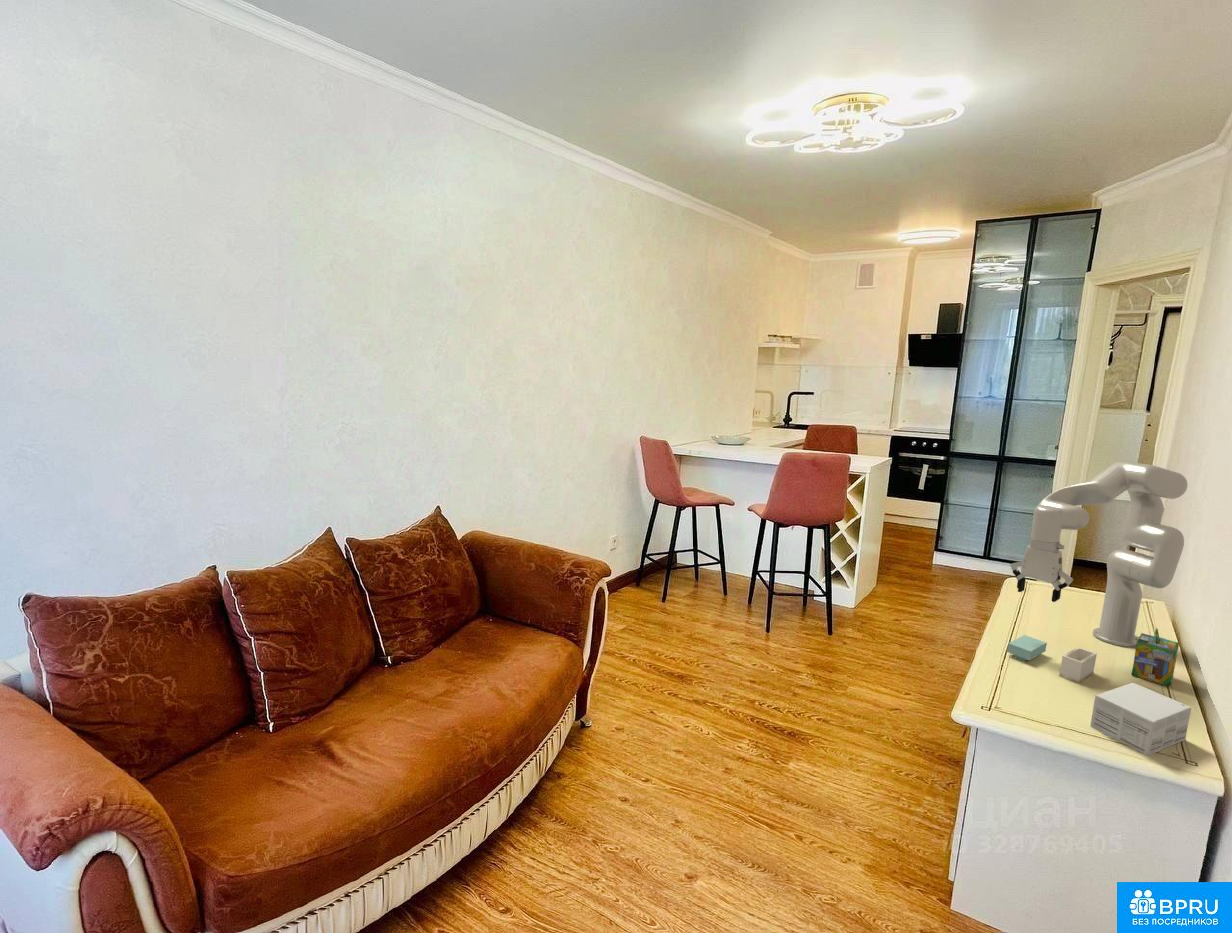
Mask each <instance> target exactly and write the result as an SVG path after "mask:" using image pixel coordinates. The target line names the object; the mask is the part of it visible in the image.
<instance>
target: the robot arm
mask: <svg viewBox="0 0 1232 933" xmlns="http://www.w3.org/2000/svg"><path fill="white" fill-rule="evenodd" d="M1187 489H1188V480H1187V478H1186V477H1185V476H1184V475H1183V474H1181V473H1180V472H1176V471H1174V470H1170V469H1166V468H1163V467H1160V466H1157V465H1152V464H1148V463H1141V462H1135V461H1128V460H1120V461H1115V462H1113V463H1112V464H1110V465H1109V466H1108V467H1106V468H1105V469H1103V470H1102V471H1100V472H1099V473H1097V474H1096V475H1095V476H1094V477H1092V478H1091V479H1090V480H1088V481H1086V482H1082V483H1076V484H1073V485H1068V486H1065V487H1062V488H1058V489H1056V490H1055V491H1053V492H1050V493H1049V494H1048V495H1047V496H1046V497H1044V498H1043V499H1042V500H1041V501H1040V502H1039V503H1038V504H1037V505H1036V507H1034V509H1033V518H1032V523H1031V533H1030V541H1029V544H1028V545H1027V546H1026V549H1025V551H1024V554H1023V558H1022V561H1017V562H1013V563H1010V565H1009V566H1010V569H1011V570H1012V573H1013V575H1014V576H1015V577H1016V580H1017V583H1016V588H1017V592H1019V593H1022V592H1024V591H1025V588H1026V577H1028V578H1031V579H1034V580H1039V581H1042V582H1045V583H1050V584H1051V585H1052V587H1054V589H1052V595H1051V602H1052V603H1056V602H1057V601H1059V600H1060V599H1061V595H1062V594H1061V593H1062V590H1063V589H1065V588H1067V587H1069V585H1070V584H1071V583H1072V582H1073V581H1074V578H1073V577H1071V576H1070V575H1068V574H1067V573H1066V572H1064V571H1063V554H1062V551H1061V550H1064V549H1065V544H1061V534H1062V530H1071V531H1077V530H1081V529H1084V528H1085V527H1086V526H1087V525H1088V524H1089V521H1090V519H1091V518H1090V514H1089V512H1088V511H1087V510H1086V509H1084V508H1083V507H1081V506H1097V505H1098V506H1100V505H1105V504H1109V503H1110V502H1113V501H1114V500H1115V499H1116V498H1117V497H1119V496H1120V495H1121V494H1123V493H1124V492H1126V491H1127V493H1128V495H1129V498H1130V499H1129V500H1130V508H1129V512H1128V514H1127V517H1126V520H1125V523H1124V527H1123V530H1122V534H1121V540H1122V542H1123V543H1124V544H1126V546H1127V545H1128V546H1130V547H1133V548H1135V549H1139V550H1143V551H1146V552H1150V553H1154V555H1153V556H1150V555H1147V554H1144V553H1140V552H1137V551H1133V550H1130V549H1115V550H1113V551H1112V552H1111V553H1109V555H1108V557H1107V560H1106V568H1107V569H1106V571H1107V581H1106V588H1105V593H1104V599H1103V605H1102V609H1101V617H1100V622H1099V627H1097V628H1094V629H1093V630H1092V635H1093V636H1094V637H1095V638H1097V639H1099V640H1100V641H1103V642H1105V643H1108V644H1111V645H1116V646H1118V647H1119V646H1120V647H1124V648H1125V647H1126V648H1134V647H1135V648H1136V644H1137V640H1138V639H1139V638H1138V637H1136V630H1137V624H1138V619H1139V614H1140V610H1141V604H1142V597H1143V591H1142V590H1143V589H1142V588H1141V585H1140V584H1142V585H1144V586H1147V587H1151V588H1154V589H1164V588H1166V587H1168V586H1169V585H1170V584H1171V582H1172V581H1173V579H1174V576H1175V574H1176V570H1177V568H1178V564H1179V562H1180V560H1181V556H1182V552H1183V551H1184V550H1183V549H1184V546H1185V537H1184V535H1183V533H1182V531H1180V530H1179V529H1178V528H1175V527H1174V526H1169V525H1165V524H1162V519H1163V515H1164V510H1165V508H1164V503H1163V500H1162V499H1161V498H1164V499H1168V500H1169V499H1170V500H1175V499H1178V498H1180V497H1182V496H1183V495H1184V494H1186V492H1187ZM1018 567H1021V569H1020V570H1019V569H1018ZM1062 579H1064V582H1063V583H1061V581H1060V580H1062Z"/></svg>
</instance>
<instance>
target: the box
mask: <svg viewBox="0 0 1232 933" xmlns="http://www.w3.org/2000/svg"><path fill="white" fill-rule="evenodd" d="M1061 658H1062V659H1061V663H1060V664H1061V665H1060V668H1059V674H1058V676H1059V677H1062V678H1064V679H1067V680H1070V681H1073V682H1075V683H1078V684H1079V683H1081V682H1083V681H1084V680H1086V679H1088V677H1090V676H1091V675H1093V674H1094V672H1095V668H1096V667H1095V666H1096V661H1097V653H1096V652H1093V651H1091V650H1087V649H1084V648H1081V647H1079V646H1077V647H1075V648H1073V649H1071V650H1070V651H1068V652H1066V653H1065V654H1063V655H1062V656H1061Z"/></svg>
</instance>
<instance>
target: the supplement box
mask: <svg viewBox="0 0 1232 933" xmlns="http://www.w3.org/2000/svg"><path fill="white" fill-rule="evenodd" d="M1093 701H1094V702H1093V707H1092V713H1091V720H1090V724H1089V726H1090V728H1093V729H1095V730H1096V731H1098V732H1100V733H1102V734H1104V735H1106V736H1108V737H1110V738H1112V739H1114V740H1116V741H1117V742H1120V743H1122V744H1124V745H1126V746H1128V747H1130V748H1132V749H1133V750H1134V751H1137V752H1139V753H1141V754H1143V755H1146V756H1150V755H1152V754H1154V753H1157V752H1159V751H1161V750H1164V749H1167V748H1169V747H1170V746H1173V745H1176V744H1179V743H1181V742H1183V741H1185V740H1186V738H1187V733H1188V727H1189V724H1190V723H1189V721H1190V717H1191V713H1192V707H1191V706H1190V705H1188V704H1185V703H1183V702H1180V701H1177V700H1176V699H1173V698H1170V697H1168V696H1166V695H1163V694H1161V693H1158V692H1156V691H1154V690H1151V689H1149V688H1146V687H1145V686H1142V685H1140V684H1137V683H1135V682H1131V683H1128V684H1125V685H1121V686H1119V687H1116V688H1113V689H1110V690H1107V691H1103V692H1101V693H1098V694H1096V695H1094V700H1093Z"/></svg>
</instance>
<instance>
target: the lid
mask: <svg viewBox="0 0 1232 933" xmlns="http://www.w3.org/2000/svg"><path fill="white" fill-rule="evenodd" d="M1047 644H1048V642H1046V641H1043V640H1041V639H1037V638H1034V637H1032V636H1029V635H1027V634H1024V635H1022V636H1020V637H1017V638H1016V639H1014V640H1011V641H1010V642H1008V644H1007V650H1006V652H1007V653H1009V654H1011V655H1014V656H1013V657H1014V658H1016V659H1017V660H1019V661H1024V662H1026V661H1027V660H1028V661H1031V660H1033V659H1035V658H1037V657H1038V656H1039V655H1041V654H1043V653H1045V652H1046V650H1047Z"/></svg>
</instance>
